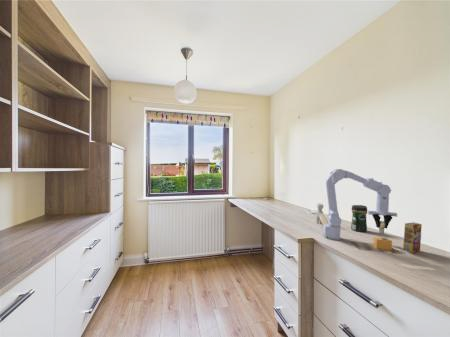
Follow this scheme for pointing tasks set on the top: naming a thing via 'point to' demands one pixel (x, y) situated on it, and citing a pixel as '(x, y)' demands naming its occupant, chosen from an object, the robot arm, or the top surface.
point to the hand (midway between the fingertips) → (381, 227)
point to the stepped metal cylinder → (381, 227)
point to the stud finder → (382, 243)
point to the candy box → (412, 237)
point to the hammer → (320, 215)
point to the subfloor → (373, 248)
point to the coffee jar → (359, 218)
